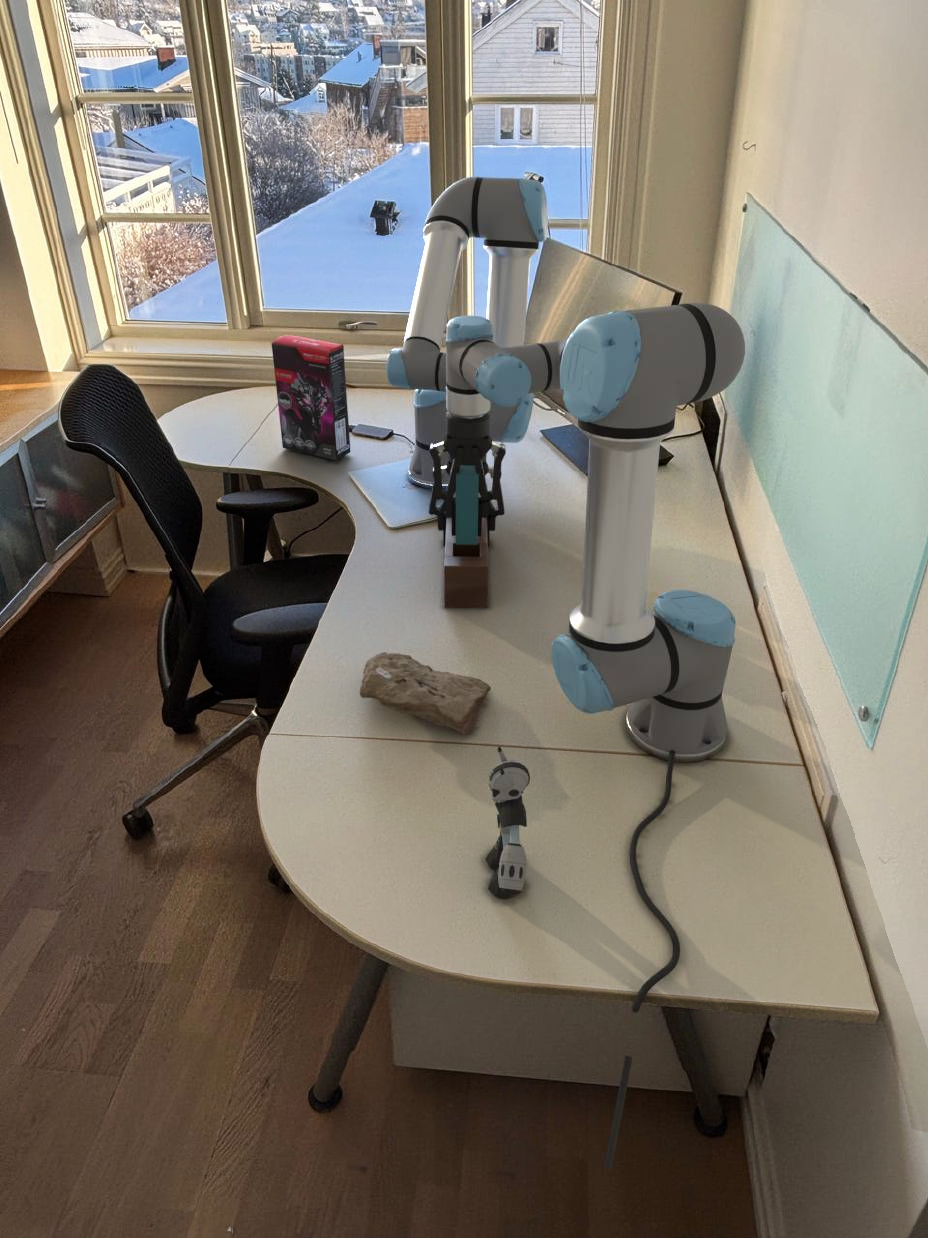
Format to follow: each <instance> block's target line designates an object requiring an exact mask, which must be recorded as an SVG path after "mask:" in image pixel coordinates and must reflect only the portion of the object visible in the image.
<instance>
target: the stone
mask: <svg viewBox="0 0 928 1238" xmlns="http://www.w3.org/2000/svg"><path fill="white" fill-rule="evenodd" d="M362 673H363V677H362V680H361V685H360V690H359V695H360V697H361V698H362V699H368V698H369V699H374V700H377V701H378V702H379V703H380V705H381V706H383V707H385V708H389V709H394V710H396V712H400V713H404V714H405V713H406V714H411V715H412V716H415V717H416V718H421V719H423V720H426V721H428V722H430V723H432V724H434V725H435V726H438V727H446V728H451V729H453V730H455V731H456V732H457V733H459V734H463V735H467V734H469V733H471V732H472V731H473V729H474V728H475V725H476V724H477V721H478V719H479V716H478V715H479V711H480V710H481V708H482V706H483V704H484V701H485V700H486V697H487V695H488V693H489V692H490V691H491V689H492V686H491V685H490V684H488V683H487V682H486V681H484V680H482V679H481V678H479V677H478V678H477V677H474V676H466V675H462V674H454V673H451V672H449V671H439V670H434V669H433V668H432V667H431V666H429V665H427V664H426V665H424V664H422V663H420V662H419V660H416V659H415V658H413V657H412V656H411V655H410V654H402V653H399V652H396V653H395V652H394V653H393V652H385V651H382V652H380V653H378V654H376V655H374V656H372V657H370V658H369V659H367V661H366V662H365V664H364V668H363V671H362Z"/></svg>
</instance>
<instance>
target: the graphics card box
mask: <svg viewBox="0 0 928 1238" xmlns="http://www.w3.org/2000/svg"><path fill="white" fill-rule="evenodd" d="M344 348H345V347H344V343H335V342H330V341H323V340H318V339H313V338H307V337H303V336H297V335H293V334H292V335H291V334H284V335H281V336H279V337H277V338H275V339H274V340H273V341H272V342H271V351H272V352H271V353H272V360H273V361H272V362H273V370H274V379H275V389H276V399H277V406H278V416H279V417H278V418H279V426H280V435H281V446H282V449H285V450H289V451H294V452H299V453H303V454H307V455H310V456H311V455H312V456H315V457H319V458H324V459H328V460H333V461H338V460H340V459H342V458H343V457H345V456H346V455H348V454H350V453H351V437H350V423H349V410H348V395H347V394H348V393H347V380H346V379H347V377H346V365H345V349H344Z"/></svg>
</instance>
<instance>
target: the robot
mask: <svg viewBox="0 0 928 1238" xmlns="http://www.w3.org/2000/svg"><path fill="white" fill-rule="evenodd" d="M497 752H498V755H499V758H500V762H499V763H498V764H497V765H496V766H494V767H493V769H491V772H490V773H489V775H488V788H489V790H490V791H491V800H492V801H493V802H494V806H495V808H496V810H497V812H498V814H496V820H497V828H498V829H499V836H498V838H497V840H496V842H495V844H494V845H493V846H492V848H491V850H490V851H489V852H488V854H487V855H486V857H485V861H486V863H487V865H488V867H489V868H490V869H491V870H493V871H495V872H493V874H492V876H491V878H490V880H489V883H488V886H487V890H488V891H490V893H491V894H492V895H493V896H494V897H495V898H500V899H509V898H512V897H514V896H516V895H518V894H520V893H522V891H523V888H524V884H525V878H526V877H525V876H526V869H527V856H526V851H525V847H524V846H523V845H522V844H521V840H520V826H521V827H523V828H527V827H528V820H527V810H526V807H525V804H524V803H523V796H522V794H524V791H525V789H526V788H528V786H529V785H530V781H531V775H530V771H529V769H528V767H527V766H526V765H524V764H522V763H521V762H520V761H517V760H515V759H507V756H506V755H505V753H504V751H503V749H502V747H501V746H498V747H497Z"/></svg>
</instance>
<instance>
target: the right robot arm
mask: <svg viewBox="0 0 928 1238" xmlns="http://www.w3.org/2000/svg"><path fill="white" fill-rule="evenodd" d="M445 335H446V336H445V341H444V345H445V353H446V409H447V410H448V412H447V413H446V436H445V438H444V441H443V442H441V443H438V444H435V443H432V444H431V445H430V454H431V457H432V459H433V461H434V480H435V497H436V499H437V501H438V500H439V501H440V500H441V501H442V500H444V501H445V515H446V517H447V518H452V536H456V496H454V495H455V493H454V490H455V486H456V473H459V469H460V465H461V464H465V463H470V464H474V465H475V469H476V473H479V488H480V493H481V496H478V536H481V535H482V518H487V517H488V506H489V502H490V501H497V500H498V498H499V489H500V483H501V479H500V476H501V477H502V474H501V472H502V463H503V460H504V458H505V456H506V453H507V450H506V449H507V448H506V445H505V444H504V443H500V444H498V443H496V442H494V441H492V439H491V437H490V413H489V412H488V411H489V410H490V403H491V401H492V402H493V403H495V404H497V405H499V406H502V407H510V406H514V405H516V404H517V403H519V402H520V401H521V400H523V399H524V398H525V397H526V396H527V394H531V393H533V394H536V393H541V392H542V393H543V392H547V391H554V390H556V391H557V390H560V391H562V392H563V396H562V400H563V403H564V406H565V408H566V410H567V411H568V413H569V414H570V415H571V416H572V417H573V418H574V419H576V420H577V428H578V429H579V430H580V431H581V433H583V435H584V436H586V438H587V439H588V441H589V442H588V460H587V462H588V463H587V479H586V480H587V483H586V501H585V502H586V503H585V518H584V519H585V522H584V538H583V539H584V540H583V559H582V560H583V562H582V563H583V564H582V579H581V580H582V582H581V583H582V584H581V600H580V601H581V602H580V603H579V604H578V605H577V606H575V607H573V609H572V610H571V611H570V613H569V620H568V621H569V623H568V633H567V634H565V633H562V634H561V633H560V635H559V636H557V637H555V639H554V640H553V641H552V642H551V647H550V656H551V664H552V668H553V671H554V674H555V677H556V679H557V682H558V684H559V687H560V689H561V690H562V692H563V694H564V696H565V697H566V698H567V700H568V701H569V703H570V704H571V705H572V706H573V707H574V708H575V709H577V710H578V711H580V712H581V713H584V714H597V713H601V712H607V711H608V712H611V711H613V710H615V709H616V708H620V707H623V706H626V705H629V706H628V708H627V711H626V719H625V728H626V732H627V734H628V736H629V738H630V739H631V741H632V742H634V744H636V745H637V746H638V747H639V748H640V749H641V750H643V751H645V752H646V753H648V754H650V755H651V756H654V757H656V758H659V759H662V760H666V761H667V767H666V774H665V775H666V776H665V787H664V788H665V789H664V794H663V797H662V799H661V802H660V803H659V805H658V806H657V807H656V808H655V809H654V810H653V811H652V812H651V813H650V814H649V815H647V816H646V817H645V818H644V819H642V821H640V823H639V824H638V825H637V826H636V828H635V830H634V831H633V834H632V837H631V841H630V845H629V863H630V864H629V865H630V869H631V873H632V877H633V880H634V884H635V886H636V890H637V891H638V892H637V893H638V894H639V896H640V898H641V900H642V901H643V902H644V904H645V906H646V907H647V908H648V909H649V910H650V912H651V913H652V914H653V915H654V916H655V917H656V919H657V920H658V921H659V922H660V924H661V925H662V926H663V927H664V929H665V930H666V932H667V933H668V935H669V938H670V940H671V944H672V956H671V958H670V959H669V961H668V963H667V964H666V965H664V967H662V968H661V969H660V970H658V971H657V972H655V974H653V975H652V976H651V977H649V978H648V979H647V980H646V981H645V983H643V985H642V986H641V987H640V988H639V990H638V992H637V993H636V996H635V998H634V1000H633V1002H632V1005H631V1012H633V1013H634V1014H636V1013H639V1011H640V1008H641V1006H642V1003H643V1001H644V999H645V997H646V996H647V994H648V993H649V991H650V990H651V989H653V987H654V986H655V985H656V984H658V982H660V981H661V980H663V979H664V978H666V976H668V975H670V973H672V971H674V969H675V968H676V967H677V965H678V964H679V960H680V958H681V943H680V940H679V937H678V936H679V935H678V934H677V932H676V930H675V928H674V927H673V925H672V924H671V923H670V921H669V920H668V919H667V918H666V916H665V915H664V914H663V913H662V912H661V911H660V910H659V908H658V907H657V906H656V905H655V904H654V903H653V901H652V900H651V898H650V897H649V895H648V893H647V891H646V889H645V887H644V884H643V880H642V878H641V873H640V870H639V866H638V861H637V847H638V842H639V838H640V836H641V834H642V832H643V831H644V829H645V828H647V826H648V825H649V824H650V823H652V821H654V820H655V819H657V817H658V816H660V815H661V814H662V812H663V811H664V810H665V809H666V807H667V805H668V804H669V801H670V799H671V798H670V797H671V794H672V785H673V784H672V783H673V781H672V780H673V773H674V766H675V765H674V764H675V763H694V762H700V761H703V760H706V759H709V758H711V757H714V755H716V754H718V752H720V751H721V750H722V748H723V747H724V744H725V743H726V740H727V739H726V738H727V733H728V721H727V716H726V712H725V708H724V707H725V706H724V701H723V692H724V686H725V682H726V678H727V674H728V669H729V664H730V661H731V655H732V652H733V647H734V644H735V642H736V641H735V640H736V638H735V632H736V627H737V626H736V617H735V616H734V614H733V612H732V611H731V609H730V608H729V607H728V606H727V605H726V604H724V603H723V602H722V601H720V600H719V599H717V598H715V597H712V596H710V595H708V594H705V593H702V592H698V591H695V590H689V589H671V590H667V591H664V592H662V593H660V594H659V595H658V596H657V597H656V598H657V599H656V600H655V602H653V607H652V608H653V611H652V612H651V611H650V610H649V609H648V608H647V607H646V604H647V595H648V594H647V593H648V592H647V591H648V580H649V571H650V560H651V559H650V558H651V549H652V537H653V528H654V527H653V526H654V516H655V515H654V514H655V505H656V493H657V492H656V491H657V481H658V479H657V478H658V471H659V470H658V469H659V460H660V449H661V448H660V446H661V442H662V441H663V440H664V439H666V438H667V437H668V436H669V435H670V434H672V433H673V432H674V431H675V424H676V423H675V422H676V415H677V408H678V406H683V405H691V404H694V403H698V402H703V401H706V400H708V399H711V398H713V397H715V396H718V395H719V394H720V393H722V392H723V391H725V390H726V389H727V388H728V387H729V386H730V385H731V384H732V383H733V382H734V381H735V379H736V378H737V376H738V375H739V373H740V371H741V369H742V366H743V365H744V361H745V356H746V342H745V338H744V333H743V331H742V328H741V326H740V324H739V323H738V321H737V320H736V319H735V318H734V316H732V314H731V313H729V312H727V311H726V310H725V309H723V308H721V307H719V306H717V305H714V304H712V303H711V304H710V303H705V302H688V303H687V302H686V303H685V302H684V303H680V304H672V305H665V306H655V307H646V308H636V309H627V310H620V309H619V310H617V309H616V310H613V311H610V312H608V313H605V314H598V315H595V316H591V317H588V318H585V319H584V320H582V321H581V322H580V323H579V324H578V325H577V326H576V328H575V329H574V330H573V331H572V332H571V333H570V335H569V337H568V338H565V339H557V340H552V341H545V342H537V343H528V344H524V345H520V346H512V347H505V348H502V347H499V346H498V345H496V344H495V343H494V342H492V339H493V331H492V324H491V322H490V321H489V320H488V319H486V317H483V316H479V315H461V316H460V315H459V316H456V317H453V318H451V319H450V320H449V321H447V323H446V333H445ZM444 449H446V450H447V452H448V453H449V454H450V455H451V457H452V458H453V463H452V468H451V472H450V477H449V481H448V486H447V489H442V471H441V456H442V455H443V450H444ZM490 450H491V454H492V457H494V458H493V467H494V468H493V479H492V484H491V490H488V484H487V479H486V475H485V474H484V469H483V464H482V459H483V457H484V456H485V455H486V456H487V454H488V453H489V451H490ZM453 494H454V495H453ZM633 1059H634V1057H633V1056H631V1055H624V1060H623V1066H622V1072H621V1077H620V1082H619V1088H618V1093H617V1099H616V1105H615V1109H614V1115H613V1119H612V1125H611V1131H610V1136H609V1141H608V1146H607V1152H606V1158H605V1162H604V1169H605V1170H606V1171H611V1170H612V1167H613V1163H614V1162H613V1161H614V1156H615V1153H616V1152H615V1151H616V1146H617V1141H618V1136H619V1131H620V1125H621V1120H622V1116H623V1110H624V1106H625V1101H626V1100H625V1099H626V1094H627V1090H628V1084H629V1080H630V1073H631V1069H632V1062H633Z"/></svg>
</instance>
